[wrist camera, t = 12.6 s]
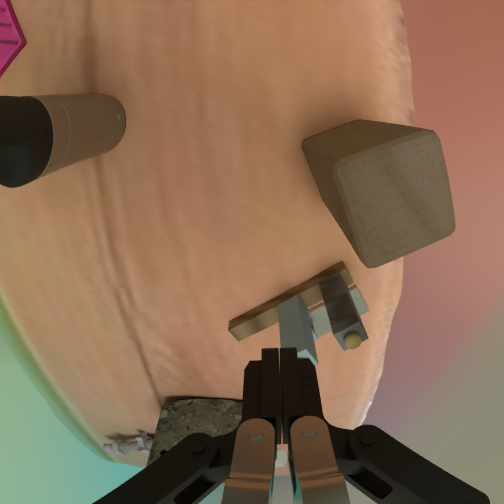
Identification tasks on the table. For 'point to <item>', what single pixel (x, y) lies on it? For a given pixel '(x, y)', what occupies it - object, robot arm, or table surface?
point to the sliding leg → (297, 328)
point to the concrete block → (193, 422)
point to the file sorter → (9, 35)
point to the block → (383, 187)
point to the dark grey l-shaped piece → (310, 292)
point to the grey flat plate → (320, 315)
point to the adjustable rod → (130, 445)
